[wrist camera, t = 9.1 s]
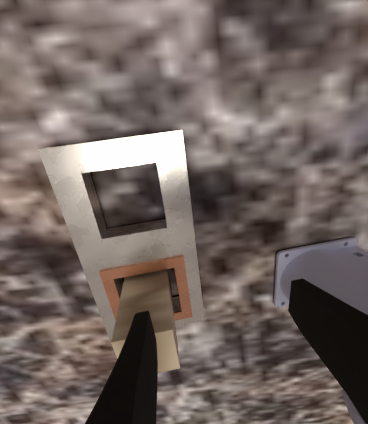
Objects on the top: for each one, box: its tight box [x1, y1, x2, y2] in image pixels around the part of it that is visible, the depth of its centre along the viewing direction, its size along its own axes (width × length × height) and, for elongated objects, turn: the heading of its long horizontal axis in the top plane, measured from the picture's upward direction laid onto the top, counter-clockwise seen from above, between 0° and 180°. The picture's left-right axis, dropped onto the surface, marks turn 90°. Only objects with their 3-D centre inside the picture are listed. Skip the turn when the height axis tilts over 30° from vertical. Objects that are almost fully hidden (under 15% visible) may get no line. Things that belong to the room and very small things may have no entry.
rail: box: [38, 130, 205, 340], centre depth 19 cm, size 10×19×2 cm, turn 7°
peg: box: [111, 269, 180, 373], centre depth 18 cm, size 4×4×8 cm
